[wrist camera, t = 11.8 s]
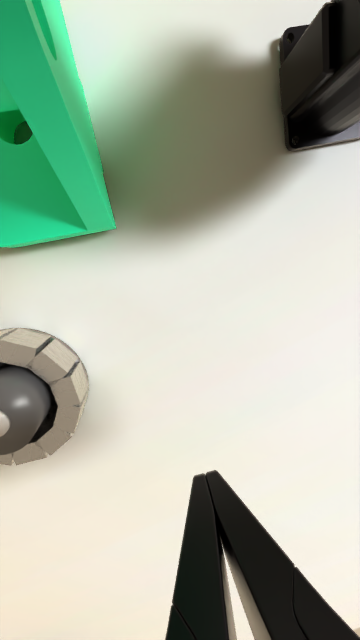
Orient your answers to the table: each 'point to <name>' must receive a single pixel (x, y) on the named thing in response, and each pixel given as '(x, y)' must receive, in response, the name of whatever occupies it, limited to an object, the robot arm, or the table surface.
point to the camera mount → (45, 133)
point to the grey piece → (64, 379)
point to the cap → (21, 406)
